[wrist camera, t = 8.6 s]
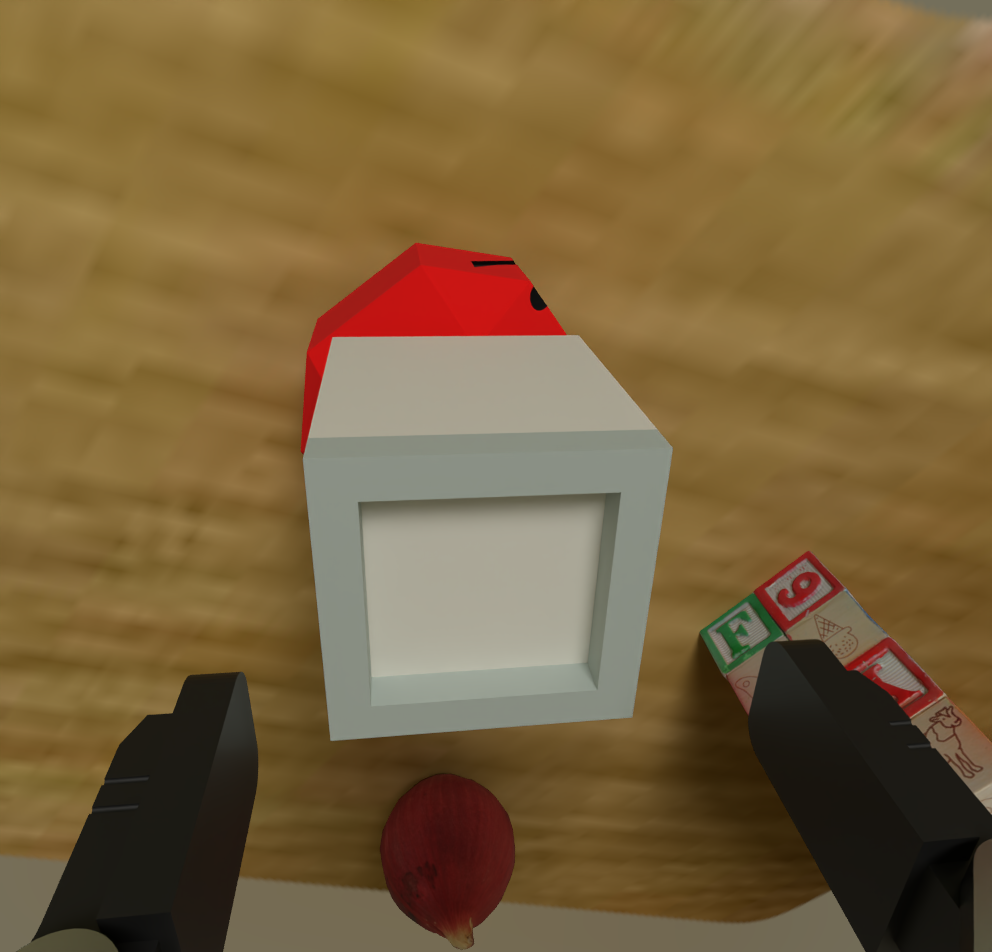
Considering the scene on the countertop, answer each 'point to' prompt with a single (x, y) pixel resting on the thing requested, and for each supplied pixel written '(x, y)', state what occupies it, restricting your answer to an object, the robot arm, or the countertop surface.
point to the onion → (448, 855)
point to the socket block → (479, 533)
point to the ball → (430, 306)
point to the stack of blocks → (845, 658)
